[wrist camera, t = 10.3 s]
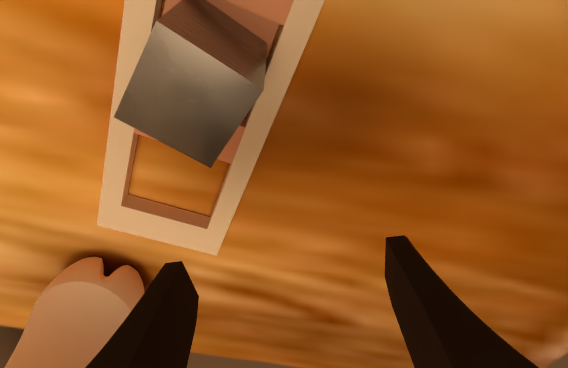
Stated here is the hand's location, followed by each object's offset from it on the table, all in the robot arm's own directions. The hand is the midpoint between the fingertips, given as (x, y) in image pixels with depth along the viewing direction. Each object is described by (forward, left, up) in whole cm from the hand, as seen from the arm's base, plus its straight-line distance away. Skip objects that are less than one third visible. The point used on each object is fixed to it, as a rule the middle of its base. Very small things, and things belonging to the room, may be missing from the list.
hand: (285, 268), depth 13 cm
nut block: (+5, -3, -10) cm, 11 cm away
